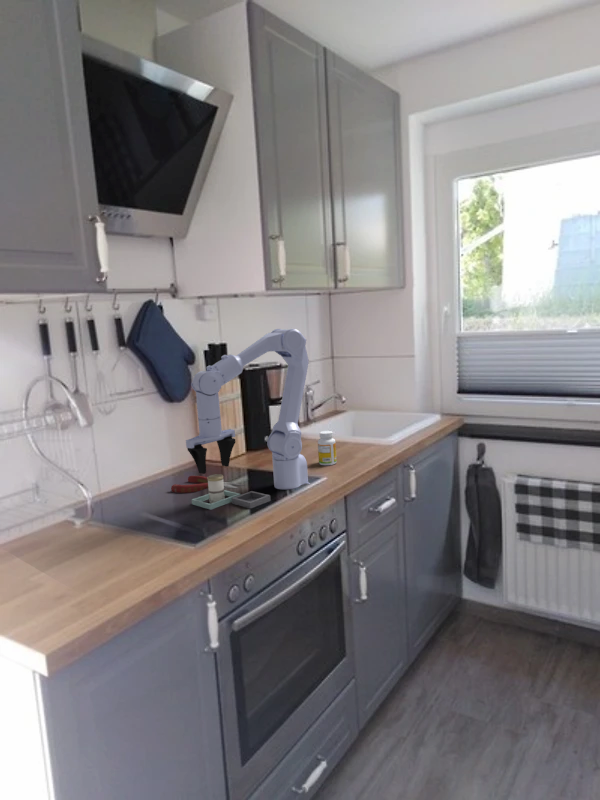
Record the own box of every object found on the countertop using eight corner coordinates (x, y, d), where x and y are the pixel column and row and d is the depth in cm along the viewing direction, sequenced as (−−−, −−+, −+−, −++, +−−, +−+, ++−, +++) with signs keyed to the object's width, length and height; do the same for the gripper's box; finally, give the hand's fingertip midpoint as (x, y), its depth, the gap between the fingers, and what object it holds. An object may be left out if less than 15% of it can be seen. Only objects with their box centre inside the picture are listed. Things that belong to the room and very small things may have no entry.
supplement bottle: (329, 460, 189) (328, 429, 188) (340, 463, 185) (338, 431, 183) (315, 463, 186) (313, 432, 185) (325, 466, 182) (323, 434, 180)
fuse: (217, 498, 155) (215, 473, 154) (228, 501, 152) (226, 475, 151) (206, 503, 152) (203, 477, 150) (216, 505, 149) (214, 479, 148)
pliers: (233, 497, 158) (232, 488, 158) (169, 494, 165) (168, 485, 165) (250, 485, 169) (250, 476, 168) (190, 482, 176) (189, 474, 175)
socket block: (252, 498, 154) (251, 491, 154) (270, 503, 150) (270, 495, 149) (232, 506, 149) (231, 498, 149) (250, 511, 145) (250, 503, 144)
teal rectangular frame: (222, 496, 158) (221, 489, 158) (241, 501, 153) (240, 493, 153) (192, 507, 151) (191, 499, 151) (210, 512, 146) (210, 504, 145)
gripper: (221, 412, 156) (225, 461, 159) (176, 421, 146) (181, 474, 148) (238, 413, 152) (242, 464, 154) (193, 424, 141) (199, 478, 143)
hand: (214, 469), depth 151 cm, fingers open, 7 cm apart
